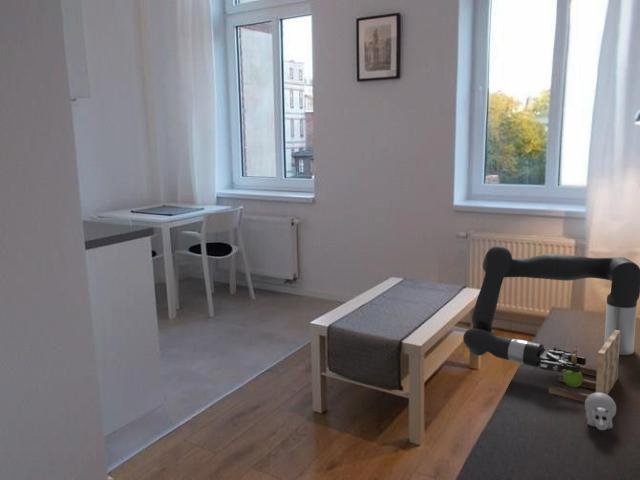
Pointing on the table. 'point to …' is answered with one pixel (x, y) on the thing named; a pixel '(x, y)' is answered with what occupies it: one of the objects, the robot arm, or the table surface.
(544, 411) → the table surface
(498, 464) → the table surface
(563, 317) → the table surface
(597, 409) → the chubby cartoon animal
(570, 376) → the snail figurine
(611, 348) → the lane rack
